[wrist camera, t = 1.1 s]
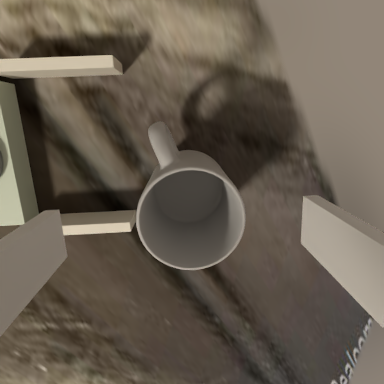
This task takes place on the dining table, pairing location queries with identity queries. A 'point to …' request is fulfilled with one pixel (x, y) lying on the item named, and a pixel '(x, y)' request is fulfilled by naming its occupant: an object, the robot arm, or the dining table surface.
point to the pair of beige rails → (17, 152)
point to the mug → (188, 207)
